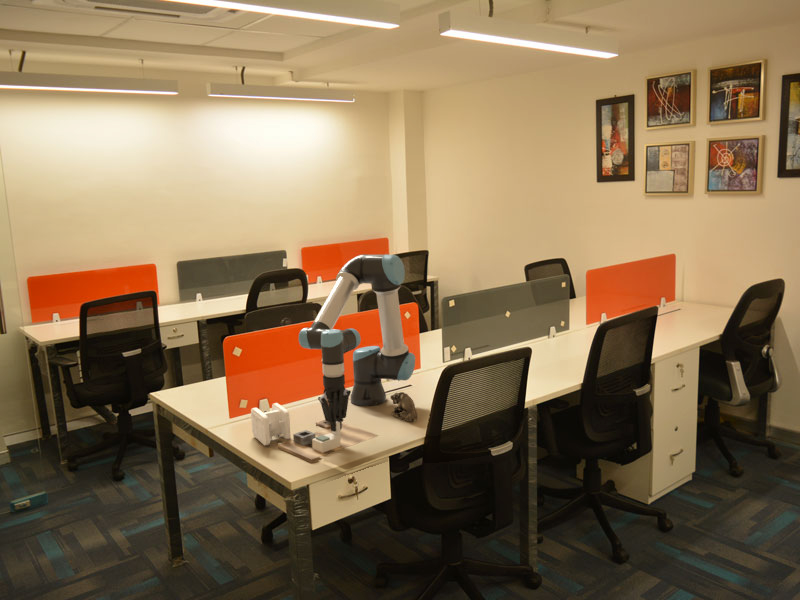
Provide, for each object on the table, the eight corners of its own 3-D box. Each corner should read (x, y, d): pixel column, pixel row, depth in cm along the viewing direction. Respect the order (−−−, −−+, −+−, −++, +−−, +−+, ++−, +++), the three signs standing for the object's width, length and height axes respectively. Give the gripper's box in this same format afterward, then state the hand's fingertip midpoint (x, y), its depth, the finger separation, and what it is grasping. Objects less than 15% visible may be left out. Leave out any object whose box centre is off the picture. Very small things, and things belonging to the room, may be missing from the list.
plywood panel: (344, 426, 265) (343, 415, 264) (378, 438, 250) (378, 427, 250) (278, 447, 244) (277, 436, 244) (311, 462, 230) (310, 451, 229)
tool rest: (330, 423, 268) (330, 418, 268) (341, 427, 263) (341, 422, 263) (316, 427, 264) (315, 422, 263) (327, 432, 259) (327, 427, 258)
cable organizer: (292, 442, 249) (290, 412, 247) (264, 449, 244) (262, 417, 242) (277, 430, 262) (276, 401, 260) (250, 436, 257) (248, 406, 255)
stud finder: (330, 442, 245) (330, 431, 244) (340, 446, 241) (340, 435, 240) (312, 448, 239) (312, 437, 239) (322, 452, 235) (321, 441, 235)
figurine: (402, 411, 279) (402, 388, 278) (421, 421, 267) (420, 396, 265) (389, 414, 276) (388, 390, 275) (407, 424, 264) (406, 399, 262)
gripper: (341, 368, 246) (344, 431, 250) (312, 376, 238) (315, 441, 241) (354, 372, 241) (357, 436, 245) (325, 380, 232) (328, 446, 236)
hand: (336, 439), depth 243 cm, fingers closed
